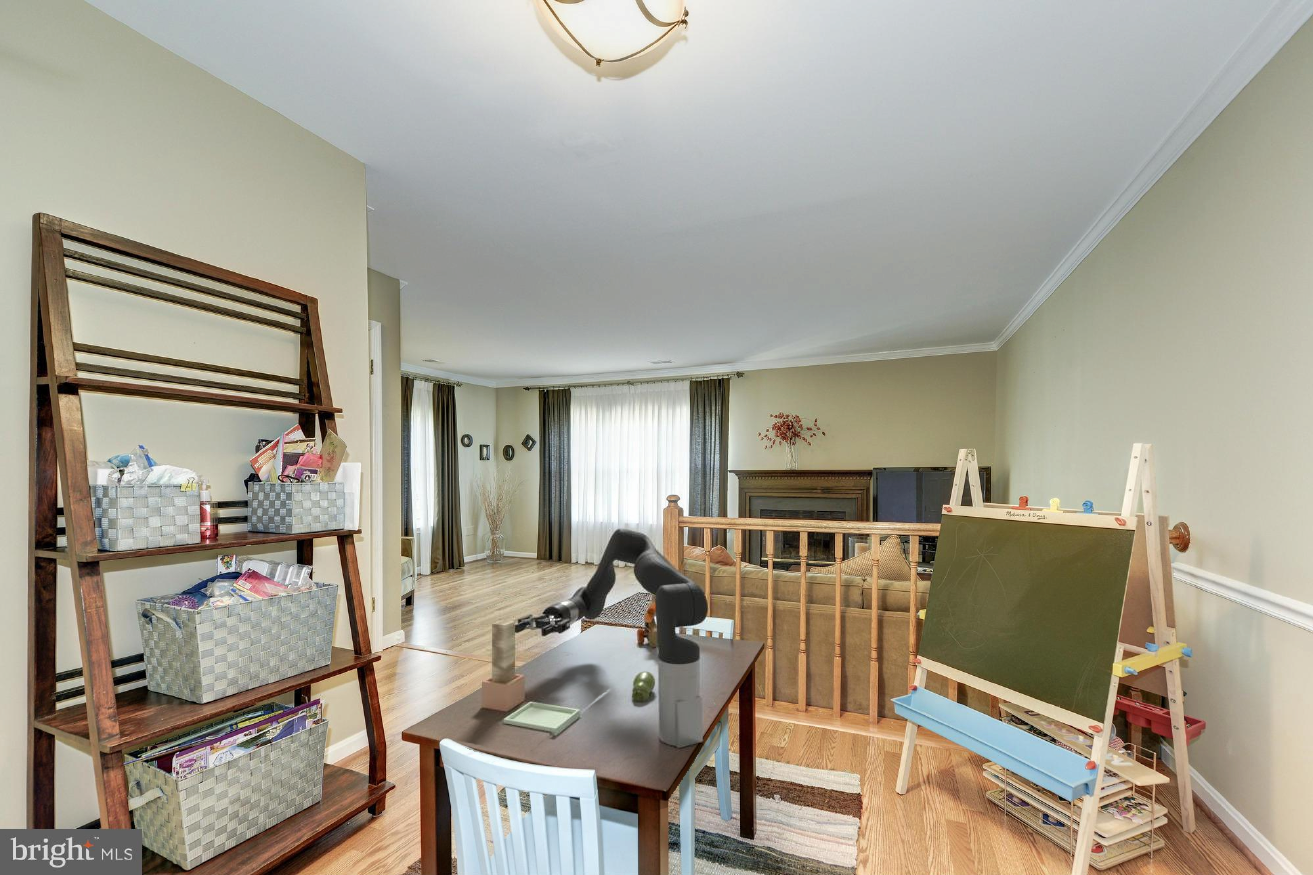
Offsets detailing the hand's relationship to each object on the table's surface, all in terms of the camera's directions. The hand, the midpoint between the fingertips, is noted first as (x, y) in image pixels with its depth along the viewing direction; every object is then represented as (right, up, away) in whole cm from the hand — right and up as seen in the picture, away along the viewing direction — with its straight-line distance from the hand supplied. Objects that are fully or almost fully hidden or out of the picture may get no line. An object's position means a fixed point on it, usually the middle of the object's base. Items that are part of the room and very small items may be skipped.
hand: (529, 630), depth 160 cm
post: (-4, -15, -11) cm, 19 cm away
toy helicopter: (+33, -17, +36) cm, 52 cm away
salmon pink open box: (-4, -15, -11) cm, 20 cm away
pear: (+31, -16, -5) cm, 35 cm away
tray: (+7, -15, -20) cm, 26 cm away
